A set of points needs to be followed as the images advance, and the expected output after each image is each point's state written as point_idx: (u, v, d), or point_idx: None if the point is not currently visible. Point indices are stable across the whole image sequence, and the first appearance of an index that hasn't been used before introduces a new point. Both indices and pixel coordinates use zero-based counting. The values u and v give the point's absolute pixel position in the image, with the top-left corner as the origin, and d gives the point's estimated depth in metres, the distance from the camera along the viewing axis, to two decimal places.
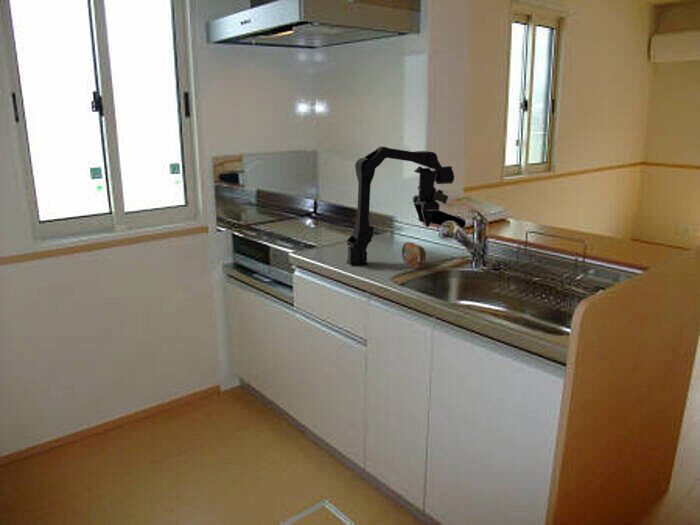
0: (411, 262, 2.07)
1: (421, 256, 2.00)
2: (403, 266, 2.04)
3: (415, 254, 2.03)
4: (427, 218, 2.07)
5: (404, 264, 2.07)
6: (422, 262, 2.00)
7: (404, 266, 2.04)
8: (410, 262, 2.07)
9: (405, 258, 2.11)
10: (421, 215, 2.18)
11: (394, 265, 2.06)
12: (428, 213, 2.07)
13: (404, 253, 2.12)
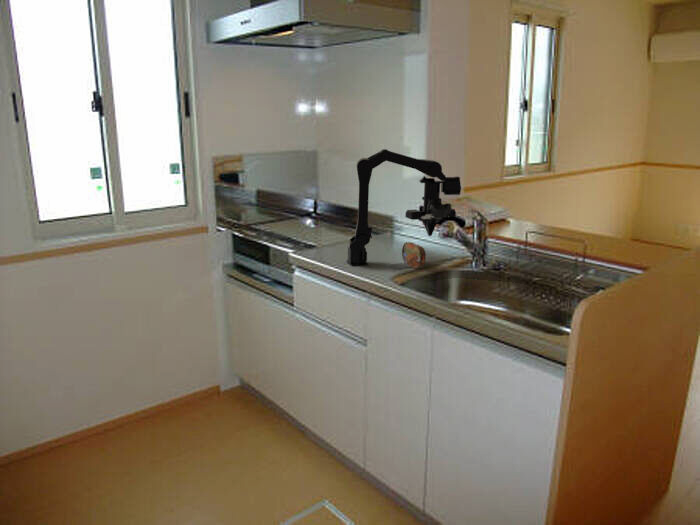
0: (411, 262, 2.07)
1: (421, 256, 2.00)
2: (403, 266, 2.04)
3: (415, 254, 2.03)
4: (426, 227, 2.06)
5: (404, 264, 2.07)
6: (422, 262, 2.00)
7: (404, 266, 2.04)
8: (410, 262, 2.07)
9: (405, 258, 2.11)
10: None
11: (394, 265, 2.06)
12: (426, 222, 2.05)
13: (404, 253, 2.12)
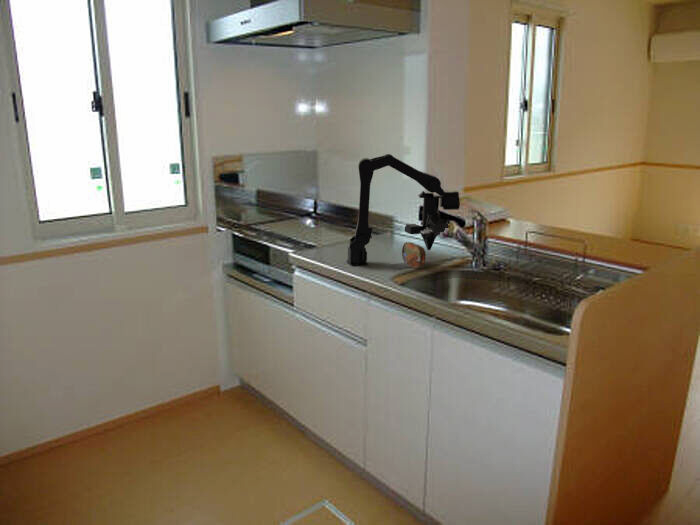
0: (411, 262, 2.07)
1: (421, 256, 2.00)
2: (403, 266, 2.04)
3: (415, 254, 2.03)
4: (425, 241, 2.07)
5: (404, 264, 2.07)
6: (422, 262, 2.00)
7: (404, 266, 2.04)
8: (410, 262, 2.07)
9: (405, 258, 2.11)
10: None
11: (394, 265, 2.06)
12: (425, 236, 2.07)
13: (404, 253, 2.12)
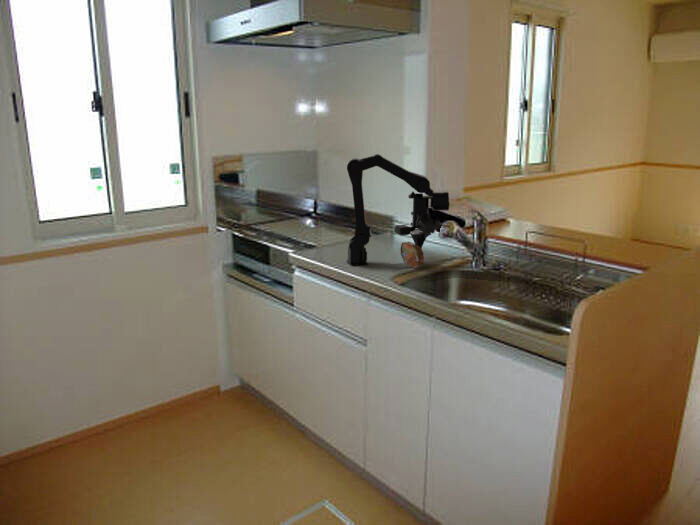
0: (410, 262, 2.06)
1: (419, 256, 1.99)
2: (403, 266, 2.04)
3: (413, 254, 2.03)
4: (415, 242, 2.06)
5: (404, 264, 2.07)
6: (421, 261, 2.00)
7: (404, 266, 2.04)
8: (410, 262, 2.07)
9: (404, 258, 2.11)
10: None
11: (394, 265, 2.06)
12: (416, 237, 2.05)
13: (403, 253, 2.12)
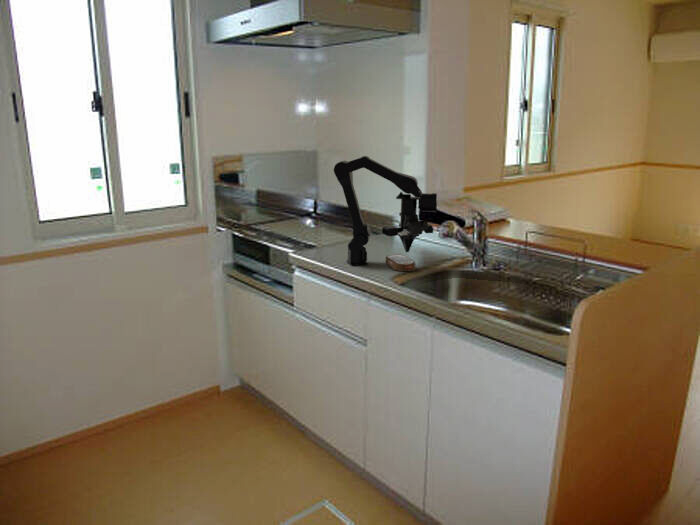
0: None
1: (406, 269, 1.98)
2: None
3: None
4: (403, 243, 2.04)
5: None
6: (410, 267, 1.99)
7: None
8: None
9: None
10: None
11: None
12: (404, 238, 2.04)
13: None
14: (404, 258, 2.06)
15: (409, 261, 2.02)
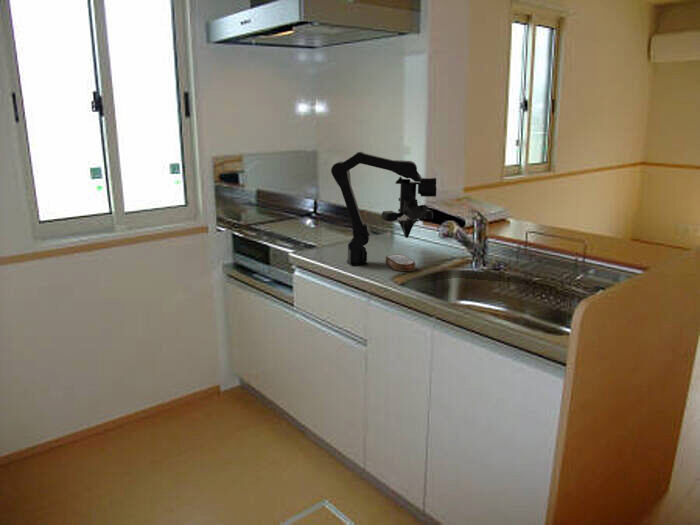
0: None
1: (406, 269, 1.98)
2: None
3: None
4: (402, 228, 2.03)
5: None
6: (410, 267, 1.99)
7: None
8: None
9: None
10: None
11: None
12: (403, 223, 2.02)
13: None
14: (404, 258, 2.06)
15: (409, 261, 2.02)
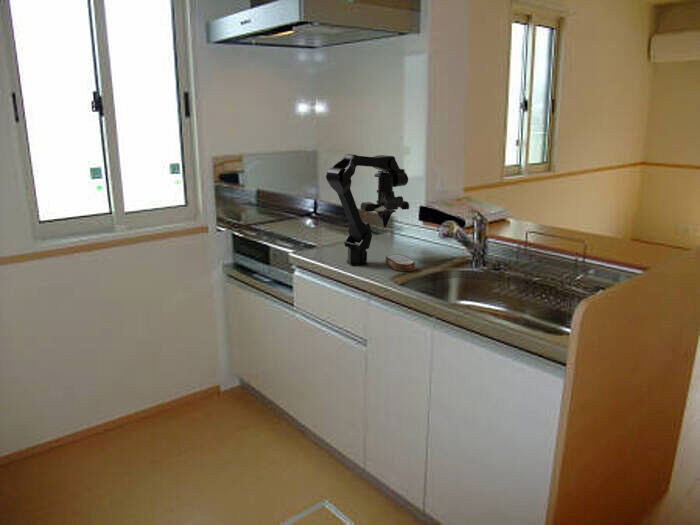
0: None
1: (406, 269, 1.98)
2: None
3: None
4: (381, 218, 2.16)
5: None
6: (410, 267, 1.99)
7: None
8: None
9: None
10: None
11: None
12: (381, 214, 2.15)
13: None
14: (404, 258, 2.06)
15: (409, 261, 2.02)
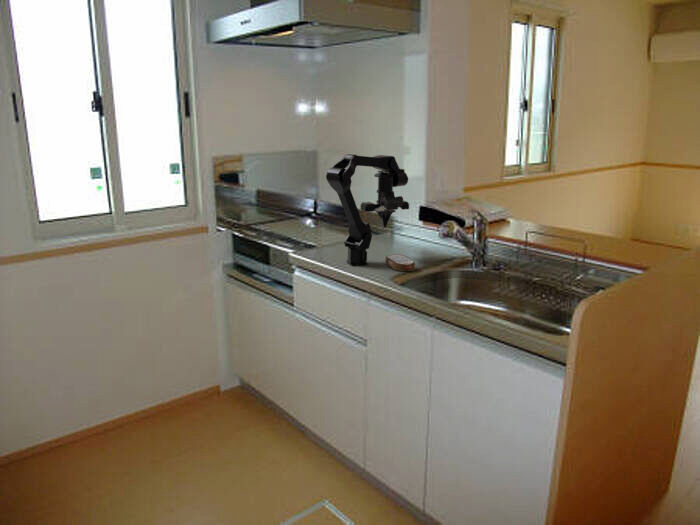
0: None
1: (406, 269, 1.98)
2: None
3: None
4: (381, 218, 2.16)
5: None
6: (410, 267, 1.99)
7: None
8: None
9: None
10: None
11: None
12: (381, 214, 2.15)
13: None
14: (404, 258, 2.06)
15: (409, 261, 2.02)
